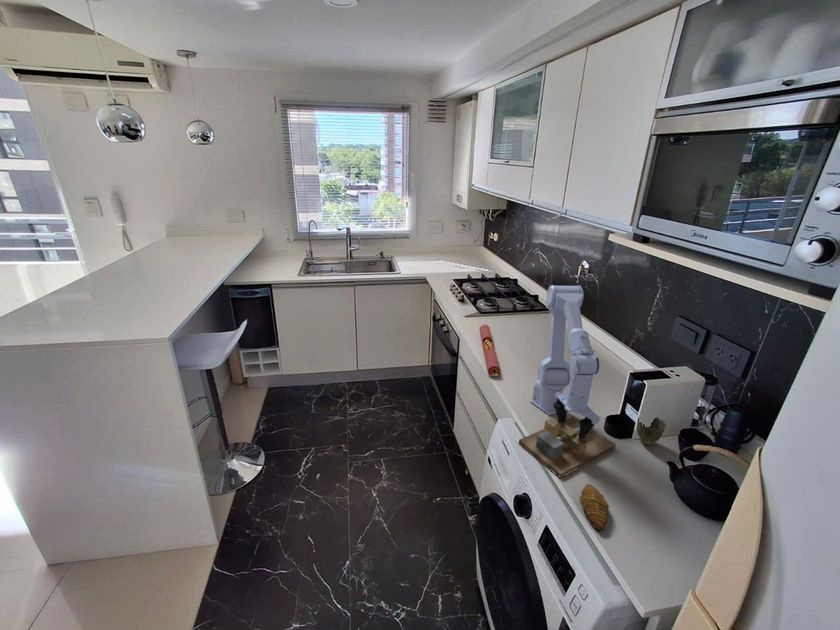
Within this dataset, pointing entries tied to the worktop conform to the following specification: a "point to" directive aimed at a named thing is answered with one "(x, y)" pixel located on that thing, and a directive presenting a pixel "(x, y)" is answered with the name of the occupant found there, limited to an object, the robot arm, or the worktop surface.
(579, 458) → the rod base
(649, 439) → the olive green lumpy piece
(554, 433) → the tan wooden bar
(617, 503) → the worktop surface
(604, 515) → the croissant
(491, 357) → the pink labeled cylinder
